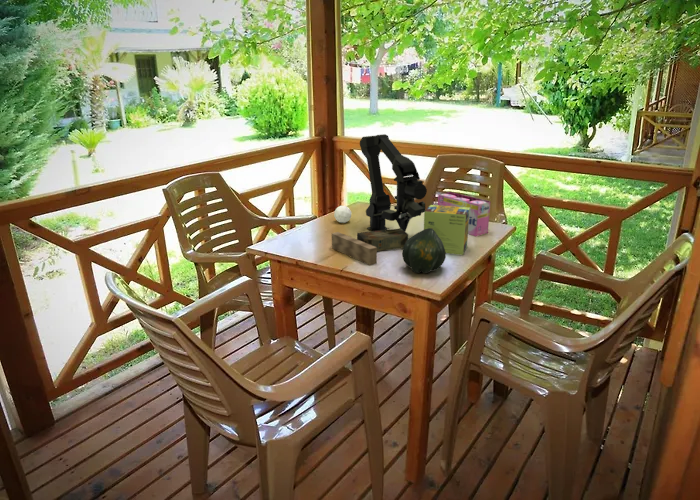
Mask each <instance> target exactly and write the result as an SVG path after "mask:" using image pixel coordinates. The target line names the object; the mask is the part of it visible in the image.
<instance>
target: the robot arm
mask: <svg viewBox="0 0 700 500" xmlns="http://www.w3.org/2000/svg"><path fill="white" fill-rule="evenodd" d="M359 147H360V150H361V153H362V155H363V156H364V158H365V159H366V162H367V170H368V174H369V182H370V187H371V195H370V197H369V201H368V202H369V205H368V207H367V208H366V209H365V215H366V216H367V217H369V227H367V230H369V231H380V230H389V228H388V227H386V221H390V222H392V221H396V223H397V225H398V227H399V228H401V229H402V230H403V231H405V232H406V230H407V228H408V225H409V223H410V222H411V220H412V219H413V218H416V217H418V216H419V217H420V216H422V214H424V212H425V211H426V203H425V202H424V201H423V200H422V199H424V198H425V197H426V195H427V190H428V189H427V187H426V185H425V184H423V180H420V179H421V178H420V175H419V172H418V170H417V167H416V165H415V162H414V161H412V160H411V159H410V158H409V157H407V156H405V155H402V154H401V152H400V151H399V149H398V148H397V147H396V146H395V144H393V142H392V141H391V140H390V139H389V135H387V134H385V133H384V134H383V133H382V134H377V135H368V136H367V135H366V136H362V137H361V139H360V141H359ZM381 152H382V153H383V154H384V155H385V157H386V158H387V159H388V160H389V162H390V164H391V170H392V172H393V173H394V174H395V176H396V177H394V179H393V181H395V182H396V195H395V196H394V197H393V198H394V199H395V200H396V205H395V206H393V207H394V210H392V209H391V207H392V206H391V205H392V202H391V197H390V194H387V193H386V192H385V191H384V184H383V183H384V182H383V177H382V171H381V164H380V163H381V162H380V159H379V158H380V154H381ZM415 199H416V200H422V201H418V202H416V201H415Z"/></svg>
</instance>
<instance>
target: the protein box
mask: <svg viewBox="0 0 700 500" xmlns="http://www.w3.org/2000/svg"><path fill="white" fill-rule="evenodd" d="M469 210H470V208H469V207H454V206H440V205H438V204H430V205H428V206H427V208H425V212H424V213H423V215H424V216H423V230H425V229H428V228H433V230H434V231H435V232H436V234H437V235H438V237H439V238H440V239H441V241H442V242H443V245H444V248H445V253H446V254H450V255H457V256H458V255H460V256H464V255H465V252H466V249H467V248H468V240H469V239H468V238H469V237H468V236H469V234H468V225H469Z"/></svg>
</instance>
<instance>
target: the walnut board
mask: <svg viewBox="0 0 700 500" xmlns="http://www.w3.org/2000/svg"><path fill="white" fill-rule="evenodd" d="M331 249H333V250H335V251H338V252H339V253H341V254H344V255H346V256H349V257H350V256H351V258H353V259H355V260H357V261H360V262H362V263H364V264H365V265H368V266H372V265H375V264H377V261H378V260H377V259H378V258H377V254H378V251H377V247H375V246H372V245H370V244H367V243H365V242H362V241H360V240H357V238H355V237H352V236H350V235H348V234H344V233H341V232H339V231H336V232H332V233H331Z"/></svg>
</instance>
